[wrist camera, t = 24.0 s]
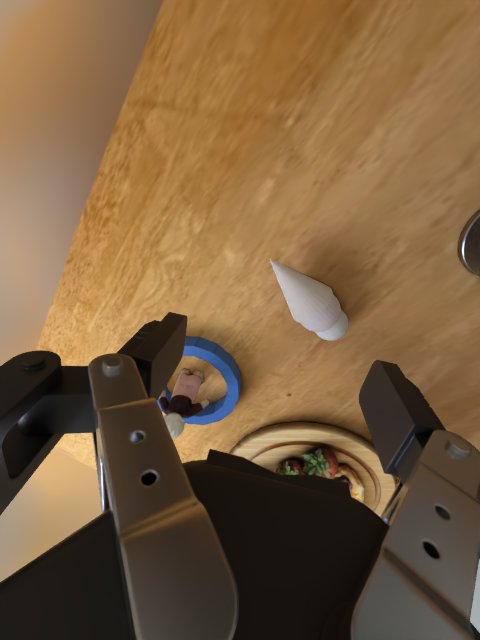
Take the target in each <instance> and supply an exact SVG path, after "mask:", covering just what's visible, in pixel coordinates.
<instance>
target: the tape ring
mask: <svg viewBox="0 0 480 640" xmlns="http://www.w3.org/2000/svg"><path fill="white" fill-rule="evenodd" d="M183 356H195V357H198V358H200V359H203V360H205V361H208V362H209V363H211V364H212V365H213V366H214V367H215V368H217V369H218V370H219V371H220V372H221V374H222V376H223V378H224V379H225V381H226V383H227V393H226V395H225V396H224V397H223V398H222V399H220V400H219V401H218V402H216V403H212V404H209V405H207V406H205V408H204V409H203V411H201V412H199V413H198V414H196V415H194V416H192V417H189V418H182V419H183V420H184V421H185V422H184V423H187V424H200V425H205V424H209V423H213V422H217V421H220V420H221V419H223V418H224V417H225V416H227V415H228V414H229V413H231V412H232V411H233V409H234V407H235V405H236V403H237V401H238V399H239V394H240V389H241V376H240V371H239V369H238V367H237V365H236V363H235V361H234V359H233V357H232V356H231V355H230V354H229V353H227V352H226V351H225V350H224V349H223V348H222V347H220V346H219V345H218V344H216V343H213V342H211V341H208V340H206V339H203V338H201V337H200V338H199V337H185V346H184V352H183ZM164 390H165V392H166V394H165V395H166V398H167V400H168V401H169V403H170V401H171V396H172V394H171V393H170V392H169V391H168V389H167V388H166V387H165V388H164ZM157 402H158V405H159V407H160V410H161V411H162V412H164V411H163V410H162V408H161V406H160V403H159V399H158V400H157ZM166 415H167V414H166Z"/></svg>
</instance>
